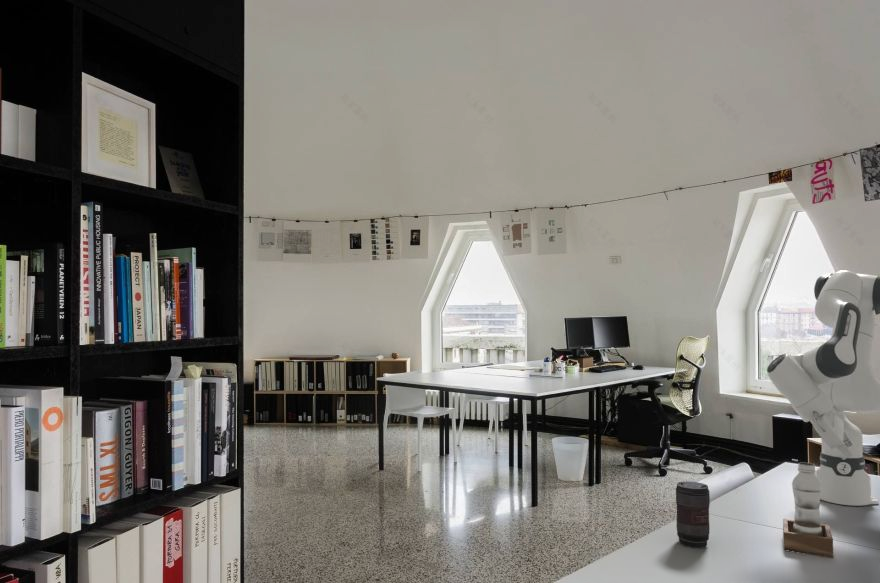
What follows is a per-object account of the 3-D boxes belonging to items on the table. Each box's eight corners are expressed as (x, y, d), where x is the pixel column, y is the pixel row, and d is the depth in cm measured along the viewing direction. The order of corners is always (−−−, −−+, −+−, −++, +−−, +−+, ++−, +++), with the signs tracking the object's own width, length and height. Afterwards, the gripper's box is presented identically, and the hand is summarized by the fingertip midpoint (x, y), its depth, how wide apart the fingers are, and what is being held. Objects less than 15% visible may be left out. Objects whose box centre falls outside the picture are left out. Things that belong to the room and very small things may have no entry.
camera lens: (710, 540, 168) (709, 482, 168) (709, 551, 160) (709, 490, 160) (677, 535, 171) (677, 479, 171) (675, 546, 163) (674, 486, 164)
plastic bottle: (827, 549, 160) (826, 467, 160) (797, 547, 161) (797, 466, 161) (816, 539, 166) (816, 461, 166) (788, 538, 167) (787, 460, 168)
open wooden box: (783, 535, 171) (783, 518, 171) (829, 542, 166) (829, 525, 166) (784, 550, 161) (783, 532, 161) (833, 558, 156) (832, 539, 156)
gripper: (823, 411, 168) (862, 457, 165) (826, 393, 186) (860, 434, 182) (801, 423, 171) (838, 468, 168) (806, 405, 189) (840, 445, 185)
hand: (850, 450), depth 175 cm, fingers open, 8 cm apart
